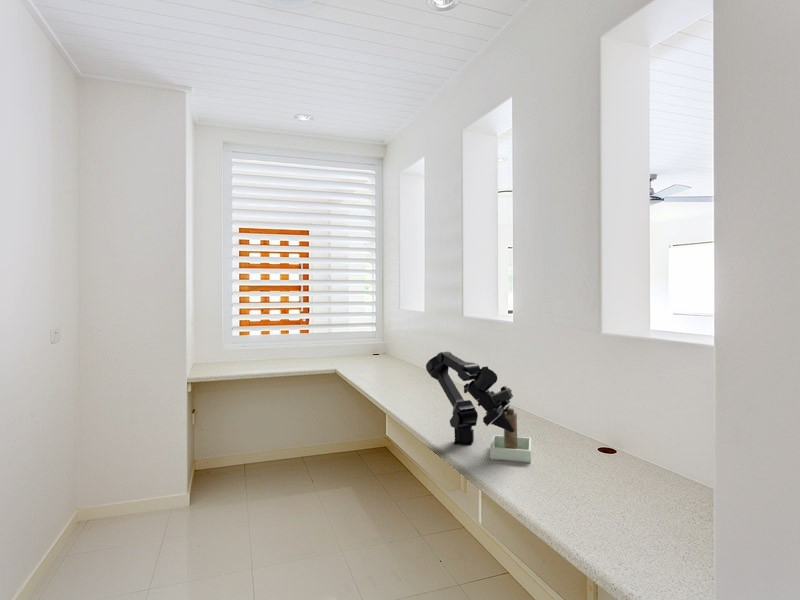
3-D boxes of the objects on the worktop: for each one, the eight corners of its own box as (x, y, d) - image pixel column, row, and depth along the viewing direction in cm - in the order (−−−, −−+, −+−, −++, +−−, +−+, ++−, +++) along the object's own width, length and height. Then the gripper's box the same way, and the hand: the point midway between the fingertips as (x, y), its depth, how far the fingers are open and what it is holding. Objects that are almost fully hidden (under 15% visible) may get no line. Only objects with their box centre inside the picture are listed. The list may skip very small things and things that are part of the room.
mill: (503, 449, 157) (503, 410, 156) (504, 445, 161) (504, 407, 160) (517, 450, 155) (516, 411, 155) (517, 446, 160) (517, 407, 159)
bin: (490, 459, 154) (489, 447, 154) (493, 446, 166) (493, 435, 166) (530, 462, 150) (530, 450, 150) (531, 448, 162) (531, 437, 162)
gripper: (491, 386, 150) (526, 422, 146) (503, 375, 167) (535, 407, 163) (469, 407, 154) (502, 443, 150) (483, 394, 171) (513, 427, 167)
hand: (514, 429), depth 157 cm, fingers closed on mill, 4 cm apart
